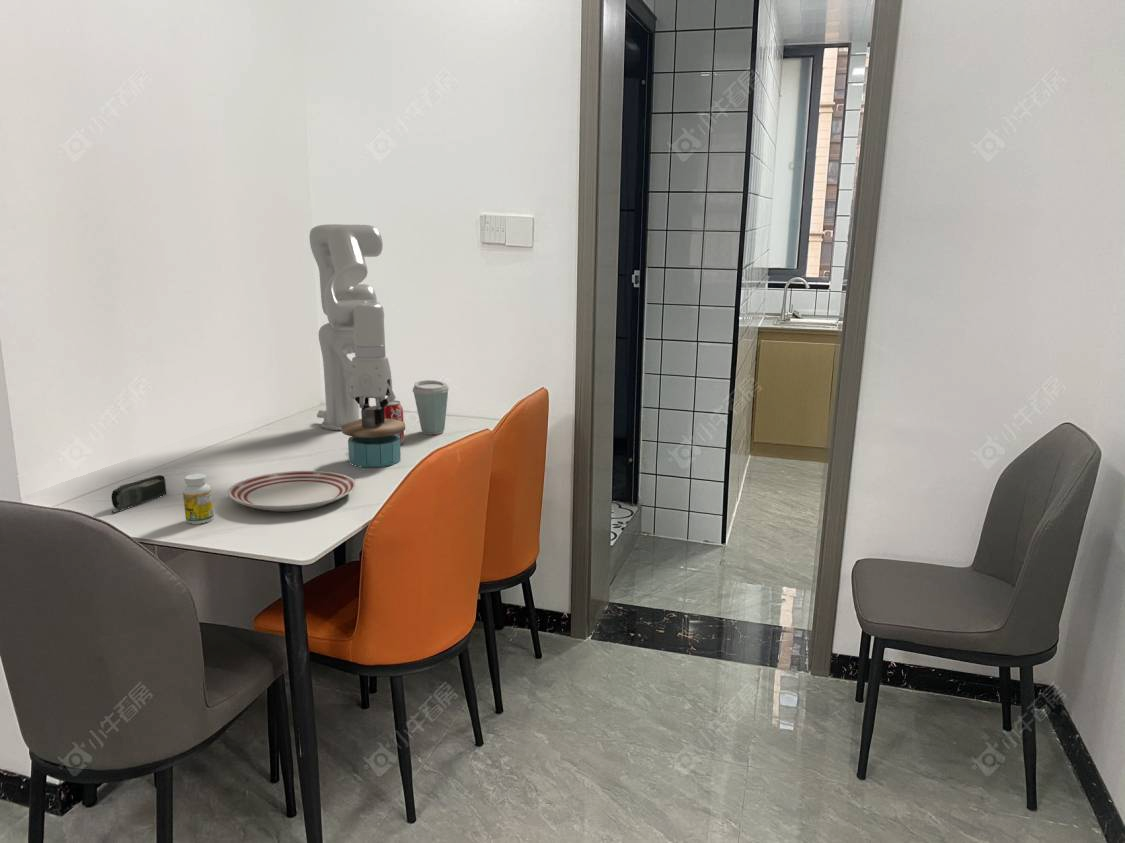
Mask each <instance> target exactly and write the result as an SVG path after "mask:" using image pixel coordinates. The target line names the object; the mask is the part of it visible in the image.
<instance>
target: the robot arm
mask: <svg viewBox="0 0 1125 843" xmlns="http://www.w3.org/2000/svg"><path fill="white" fill-rule="evenodd" d="M383 244H384V243H383V238H382V234H381V233H380V231H379V229H378V228H377V227H375V226H374V225H370V224H336V223H335V224H331V223H330V224H320V225H316V226H314V227H312V228H311V229H310V231H309V245H310V249H311V253H312V255H313V258H314V260H315V262H316V265H317V268H318V271H319V272H318V273H319V286H320V299H321V300H320V301H321V307H322V308H321V309H322V312H323V314H324V315H325V316H326V317H327V320H328V322H327V323H325V324H323V325H322V326H320V328H319V330H318V341H319V342H318V343H319V346H320V350H321V356H322V363H323V378H324V379H323V380H324V392H325V393H324V395H325V410H323V409H322V410H320V409H319V410H318V412H317V413H316V417H317V419H318V418H321V419H322V418H323V421H322V422H321V428H323V429H324V428H325V430H328V429H329V430H330V431H342V425H344V424H346V423H348V422H352V421H356V420H362V418H360V412H359V408H360V409H361V410H363V409H366V408H369V407H372V405H370V400H371V399H374V400H375V406H376V408H377V409H376V410H375V424H376V425H379V424H382V423H384V419H385V416H384V408H385V407H386V405H387V404H388V403H389V402H391V401H393V400H396V395H395V394H394V391H393V381H392V380H393V379H392V372H391V371H392V370H391V366H390V362H389V359H388V357H386V336H385V335H386V334H385V310H384V307H383V306H382V304H381V303H380V301H378V300H377V294H376V292H375V289H374V287H373V286H371V285H369V284H365V283H363V284H362V282H363V281H364V280H366V278H367V276H368V267H367V263H366V258H369V257H370V258H376V257H379V256H380V255H381V254H382V251H383V246H384V245H383ZM365 257H366V258H365ZM349 354H350V355H351V354H352V355H353V354H354V357H352V359H350V358H349V357H348V355H349ZM386 396H387V397H386Z"/></svg>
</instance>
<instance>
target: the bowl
mask: <svg viewBox="0 0 1125 843" xmlns="http://www.w3.org/2000/svg"><path fill="white" fill-rule="evenodd" d="M347 446H348V460H349V464H350V463H351V464H353V465H356V466H355V467H357V466H361V467H360V468H364V467H377V468H384V467H383V466H386V467H389V466H394V465H396V464H399V463H400V462H401V460H402V459H401V457H402V456H401V455H402V454H401V444H400V436H399V435H396V434H395V435H390V436H384V437H369V438H366V437H352V436H349V438H348V439H347ZM399 461H400V462H399ZM351 464H350V465H351ZM393 464H394V465H393ZM353 465H352V466H353Z"/></svg>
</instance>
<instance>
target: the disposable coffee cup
mask: <svg viewBox="0 0 1125 843" xmlns="http://www.w3.org/2000/svg"><path fill="white" fill-rule="evenodd" d="M449 390H450V388H449V385H447V383H446V382H444V381H441V380H435V379H424V380H418V381H415V382H414V386H413V388H412V393H413V395H414V400H415V405H416V409H417V416H418V421H419V425H420V430H421V431H422V432H421V433H423V434H424V433H425V434H424V435H427V434H436V435H441V434H443V433H444V431H445V426H446V419H447V418H446V417H447V406H448V399H449V398H448V397H449Z"/></svg>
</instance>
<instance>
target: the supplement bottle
mask: <svg viewBox="0 0 1125 843" xmlns="http://www.w3.org/2000/svg"><path fill="white" fill-rule="evenodd" d="M184 482H185V483H184V484H185V486H184V487H183V490H182V496H183V497H182V498H183V505H184V514H185V521H186V523H187V522H188V523H187V524H189V523H192V524H191V525H201V524H200V523H204V524H206V523H205V522H208V523H210V522H211V520H212V521H213V520H214V507H213V495H212V488H211V486H210V485H209V483H207V475H206V474H204V473H195V474H194V473H193V474H189V475H186V476H185V477H184ZM209 521H210V522H209Z"/></svg>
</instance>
